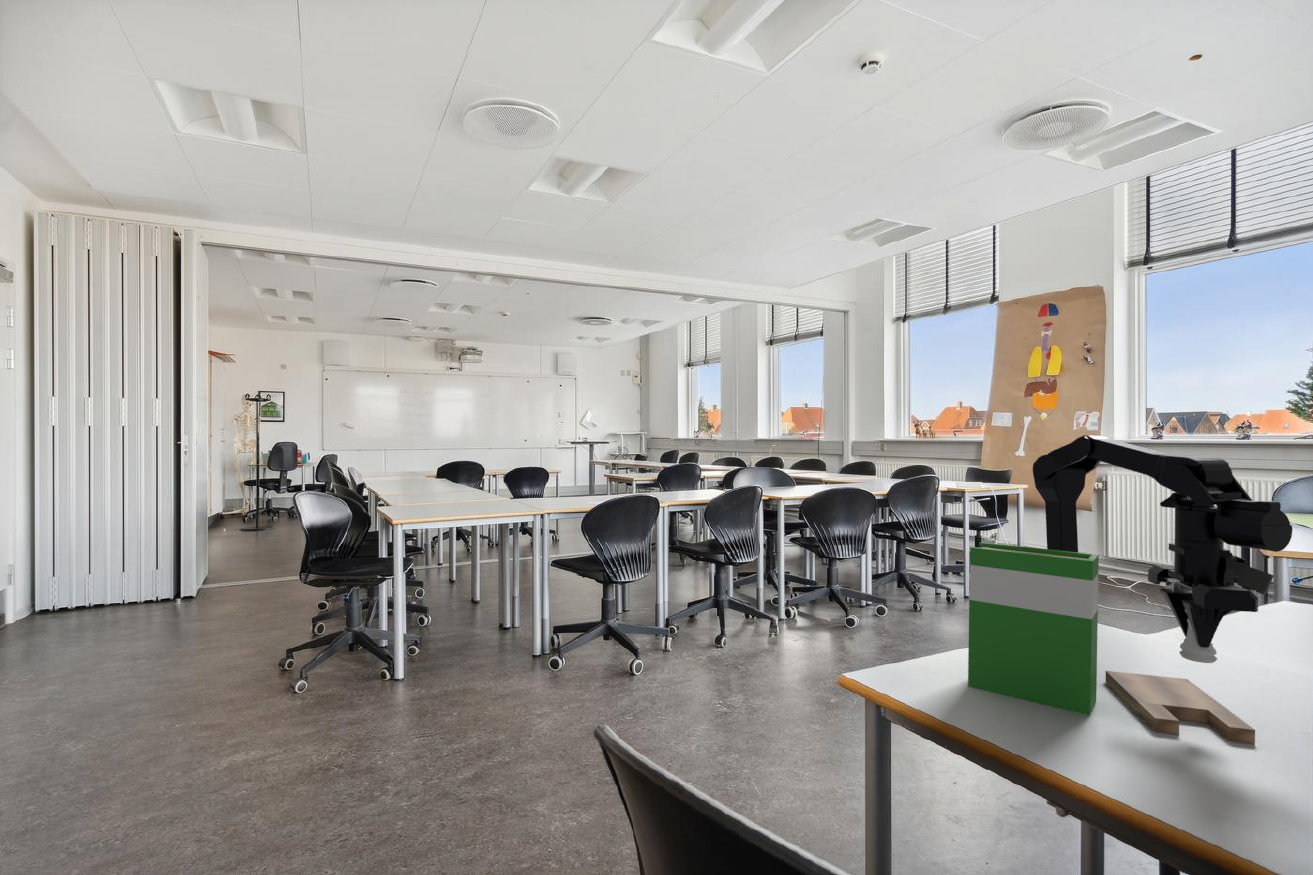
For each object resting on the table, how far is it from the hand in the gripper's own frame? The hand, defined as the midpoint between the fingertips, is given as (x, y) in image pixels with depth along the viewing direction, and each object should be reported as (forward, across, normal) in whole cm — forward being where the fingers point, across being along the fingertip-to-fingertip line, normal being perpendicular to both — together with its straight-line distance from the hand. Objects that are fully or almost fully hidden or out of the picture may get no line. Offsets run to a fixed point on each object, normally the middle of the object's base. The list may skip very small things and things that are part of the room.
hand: (1197, 643), depth 99 cm
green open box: (+12, +5, +21) cm, 25 cm away
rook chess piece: (+2, 0, 0) cm, 3 cm away
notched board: (+12, +5, +1) cm, 13 cm away
